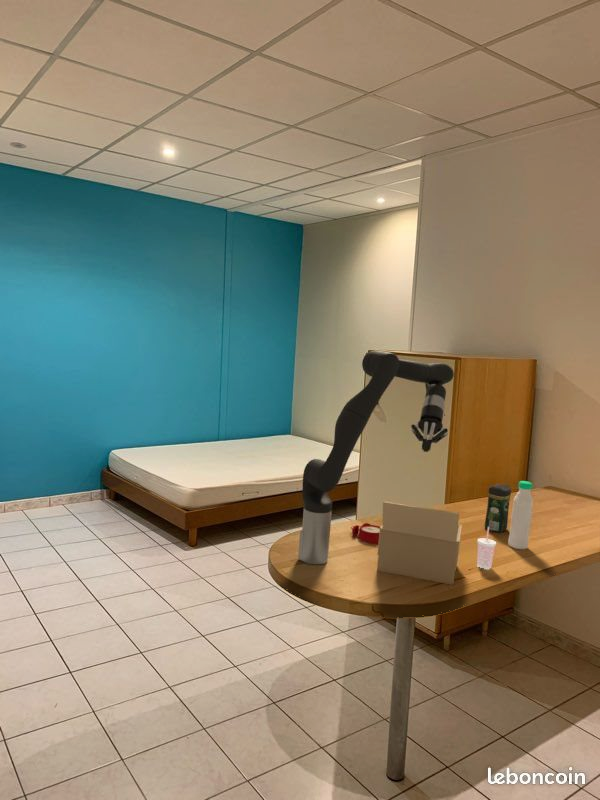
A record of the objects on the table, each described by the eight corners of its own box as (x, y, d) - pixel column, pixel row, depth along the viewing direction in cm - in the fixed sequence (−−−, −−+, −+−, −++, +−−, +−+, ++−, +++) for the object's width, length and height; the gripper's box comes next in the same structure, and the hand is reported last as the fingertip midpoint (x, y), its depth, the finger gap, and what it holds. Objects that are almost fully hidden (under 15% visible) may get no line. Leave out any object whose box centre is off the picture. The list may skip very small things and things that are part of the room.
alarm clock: (375, 537, 218) (347, 516, 229) (371, 552, 220) (343, 531, 230) (394, 532, 225) (366, 512, 235) (389, 547, 227) (361, 527, 237)
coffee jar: (490, 524, 256) (495, 481, 254) (509, 529, 251) (514, 485, 249) (481, 528, 249) (486, 484, 247) (500, 534, 244) (505, 488, 242)
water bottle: (531, 550, 228) (539, 484, 225) (513, 549, 227) (521, 484, 224) (521, 543, 235) (529, 479, 232) (504, 543, 233) (512, 479, 230)
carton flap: (382, 528, 195) (382, 529, 195) (383, 501, 190) (382, 502, 189) (456, 541, 188) (456, 542, 188) (459, 513, 183) (459, 514, 183)
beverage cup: (470, 564, 208) (475, 525, 206) (482, 562, 212) (487, 523, 210) (485, 571, 203) (490, 530, 201) (497, 568, 207) (501, 528, 205)
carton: (375, 570, 197) (379, 528, 195) (385, 551, 214) (388, 512, 213) (454, 585, 190) (459, 541, 188) (457, 564, 207) (462, 524, 206)
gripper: (413, 401, 215) (405, 441, 204) (452, 406, 211) (446, 446, 201) (414, 415, 220) (406, 454, 210) (451, 419, 217) (445, 459, 206)
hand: (425, 450), depth 205 cm, fingers closed
